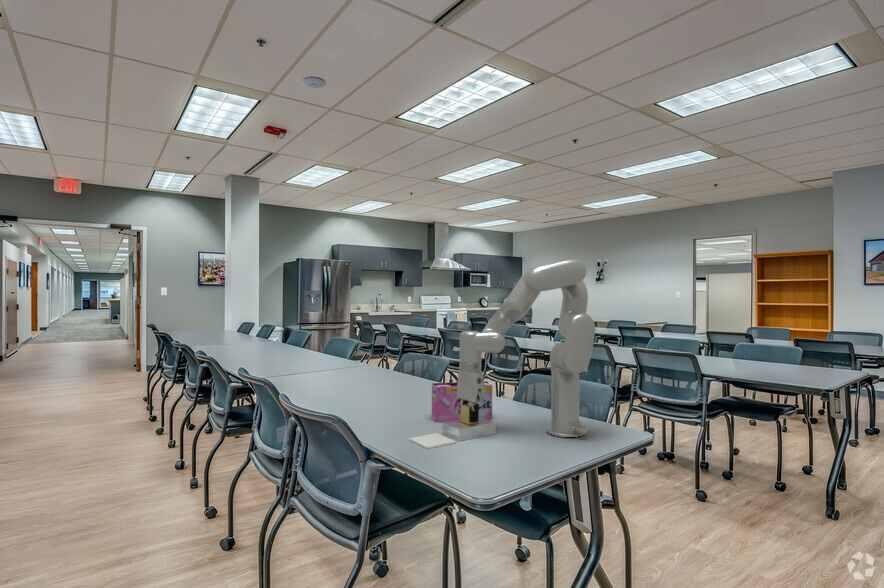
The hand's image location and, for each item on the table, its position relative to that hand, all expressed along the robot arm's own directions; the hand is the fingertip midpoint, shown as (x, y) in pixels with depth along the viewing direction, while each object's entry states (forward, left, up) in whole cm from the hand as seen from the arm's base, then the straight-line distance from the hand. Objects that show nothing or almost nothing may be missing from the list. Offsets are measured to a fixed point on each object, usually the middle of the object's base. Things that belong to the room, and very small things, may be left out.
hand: (469, 419), depth 159 cm
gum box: (+18, -11, -5) cm, 22 cm away
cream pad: (0, +15, -5) cm, 16 cm away
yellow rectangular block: (0, 0, -5) cm, 5 cm away
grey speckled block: (0, 0, -5) cm, 5 cm away
